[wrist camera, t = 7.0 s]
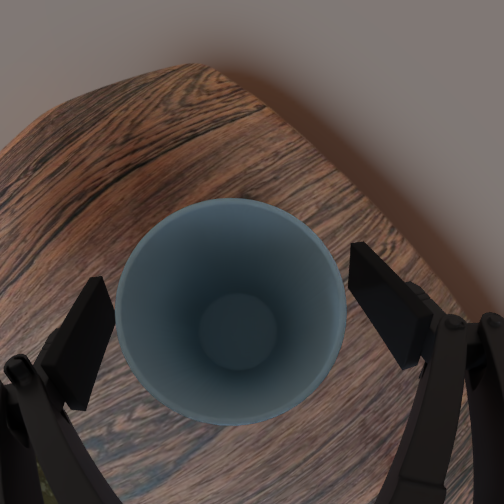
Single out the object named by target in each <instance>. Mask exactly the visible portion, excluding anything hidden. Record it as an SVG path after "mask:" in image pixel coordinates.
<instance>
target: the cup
mask: <svg viewBox="0 0 504 504" xmlns="http://www.w3.org/2000/svg"><path fill="white" fill-rule="evenodd" d="M346 318H347V305H346V295H345V290H344V285H343V282H342V278H341V275H340V272H339V270H338V267H337V265H336V263H335V261H334V259H333V257H332V255H331V254H330V252H329V251H328V249H327V248H326V246H325V245H324V243H323V242H322V241H321V240H320V238H319V237H318V236H317V235H316V234H315V233H314V232H313V231H312V230H311V229H310V228H309V227H308V226H307V225H305V224H304V223H303V222H301V221H300V220H299V219H297V218H296V217H294V216H293V215H291V214H289V213H288V212H286V211H284V210H281V209H279V208H277V207H275V206H272V205H269V204H266V203H263V202H260V201H255V200H249V199H242V198H221V199H212V200H207V201H203V202H199V203H196V204H193V205H190V206H187V207H185V208H182V209H180V210H178V211H176V212H174V213H173V214H171V215H169V216H168V217H166V218H165V219H163V220H162V221H161V222H159V223H158V224H157V225H156V226H154V227H153V228H152V229H151V230H150V231H149V232H148V233H147V234H146V235H145V236H144V237H143V238H142V240H141V241H140V242H139V243H138V244H137V246H136V247H135V249H134V250H133V252H132V253H131V255H130V257H129V259H128V261H127V263H126V265H125V267H124V269H123V272H122V275H121V277H120V281H119V284H118V288H117V293H116V302H115V322H116V330H117V335H118V340H119V343H120V346H121V349H122V352H123V355H124V357H125V359H126V361H127V363H128V365H129V367H130V369H131V370H132V372H133V374H134V375H135V376H136V378H137V379H138V381H139V382H140V383H141V384H142V386H143V387H144V388H145V389H146V390H147V391H148V392H149V393H150V394H151V395H152V396H153V397H154V398H156V399H157V400H158V401H159V402H161V403H162V404H164V405H165V406H167V407H168V408H170V409H171V410H173V411H175V412H177V413H179V414H181V415H183V416H185V417H187V418H190V419H193V420H196V421H199V422H203V423H209V424H214V425H224V426H239V425H248V424H254V423H258V422H262V421H265V420H268V419H271V418H274V417H276V416H279V415H281V414H283V413H285V412H287V411H289V410H290V409H292V408H293V407H295V406H297V405H298V404H299V403H301V402H302V401H303V400H305V399H306V398H307V397H308V396H309V395H310V394H312V393H313V391H314V390H315V389H316V388H317V387H318V386H319V385H320V384H321V383H322V381H323V380H324V379H325V377H326V376H327V375H328V373H329V371H330V370H331V368H332V366H333V365H334V363H335V361H336V358H337V356H338V353H339V351H340V348H341V345H342V342H343V338H344V333H345V327H346Z"/></svg>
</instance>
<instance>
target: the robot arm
mask: <svg viewBox="0 0 504 504" xmlns="http://www.w3.org/2000/svg"><path fill="white" fill-rule="evenodd" d="M348 289H349V290H350V292H351V293H352V294H353V296H354V297H355V299H356V300H357V302H358V303H359V305H360V306H361V308H362V309H363V311H364V312H365V314H366V315H367V317H368V318H369V320H370V321H371V323H372V324H373V326H374V327H375V329H376V330H377V332H378V333H379V335H380V336H381V338H382V339H383V341H384V342H385V344H386V345H387V347H388V349H389V350H390V352H391V353H392V355H393V356H394V358H395V360H396V361H397V363H398V364H399V366H400V367H401V369H402V370H405V369H408V368H411V367H414V366H417V364H418V362H419V359H420V356H422V357H423V359H424V360H425V363H424V366H423V368H422V371H421V373H420V376H419V378H418V379H420V381H419V385H418V389H417V392H416V396H415V399H414V403H413V406H412V409H411V413H410V416H409V419H408V422H407V425H406V428H405V431H404V434H403V437H402V439H401V442H400V445H399V447H398V450H397V453H396V455H395V458H394V460H393V463H392V465H391V468H390V470H389V472H388V475H387V477H386V479H385V482H384V484H383V486H382V488H381V490H380V493H379V495H378V497H377V499H376V501H375V503H374V504H443V503H444V500H445V496H446V488H445V487H444V480H445V476H446V473H447V469H448V465H449V462H450V458H451V454H452V449H453V445H454V440H455V436H456V431H457V426H458V420H459V415H460V408H461V402H462V395H463V387H464V378H465V383H466V389H467V396H468V403H469V411H470V420H471V431H472V444H473V465H474V494H473V504H504V318H503V317H501V316H500V315H498V314H496V313H492V312H489V313H485V314H483V315H482V318H481V320H480V322H479V323H466V321H465V320H464V319H463V318H461V317H460V316H457V315H453V314H446V313H445V312H444V311H443V310H442V309H441V308H440V307H439V306H438V305H437V304H436V303H435V302H434V301H433V300H432V299H430V297H429V296H428V294H426V293H425V291H424V290H423V289H422V288H421V287H420V286H418V285H416V284H414V283H413V282H411V281H409V282H404V281H403V280H402V279H401V278H400V277H399V276H398V275H397V274H396V273H395V272H394V271H393V270H392V269H391V268H390V267H389V266H388V265H387V264H386V263H385V262H384V261H383V260H382V259H381V258H380V257H379V256H378V255H377V254H376V253H375V252H374V251H373V250H372V249H371V248H370V247H369V246H368V245H367V244H366V243H365V242H364V241H363V242H356V243H351V247H350V265H349V280H348ZM115 323H116V322H115V310H114V308H113V305H112V302H111V300H110V297H109V294H108V291H107V289H106V286H105V283H104V280H103V277H102V276H99V277H91V278H90V279H89V280H88V282H87V283H86V285H85V286H84V288H83V290H82V291H81V293H80V294H79V296H78V298H77V299H76V301H75V303H74V304H73V306H72V308H71V309H70V311H69V313H68V314H67V316H66V318H65V320H64V321H63V323H62V325H61V327H60V328H56V329H55V330H54V331H53V332H52V333H51V334H50V335H49V337H48V338H47V340H46V342H45V344H44V346H43V347H42V350H41V351H40V353H39V355H38V357H37V359H36V360H35V362H34V364H33V365H32V364H31V362H30V360H29V359H28V357H27V356H26V355H24V354H17V355H15V356H13V357H11V358H10V359H9V360H8V361H7V362H6V364H5V366H4V373H5V374H6V376H7V377H8V378H9V380H10V381H11V383H12V384H7V385H3V383H2V382H1V380H0V504H45V503H44V499H43V495H42V490H41V485H40V480H39V474H38V468H37V462H36V456H37V459H38V461H39V464H40V466H41V468H42V471H43V473H44V475H45V478H46V480H47V482H48V484H49V486H50V488H51V490H52V492H53V494H54V496H55V498H56V500H57V502H58V504H123V503H122V502H121V501H120V499H119V498H118V497H117V495H116V494H115V493H114V491H113V490H112V488H111V487H110V486H109V484H108V483H107V481H106V480H105V478H104V477H103V475H102V474H101V472H100V471H99V469H98V468H97V466H96V465H95V463H94V461H93V460H92V458H91V456H90V455H89V453H88V451H87V450H86V448H85V446H84V445H83V443H82V441H81V439H80V438H79V436H78V434H77V432H76V430H75V429H74V427H73V425H72V423H71V421H70V419H69V417H68V415H67V413H66V412H65V410H64V409H63V406H64V403H65V402H66V403H67V405H68V406H69V407H70V409H71V410H80V411H86V409H87V405H88V402H89V399H90V395H91V392H92V389H93V386H94V383H95V380H96V377H97V374H98V371H99V368H100V365H101V362H102V359H103V356H104V353H105V350H106V348H107V345H108V342H109V339H110V337H111V334H112V331H113V329H114V326H115ZM35 454H36V455H35Z"/></svg>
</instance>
